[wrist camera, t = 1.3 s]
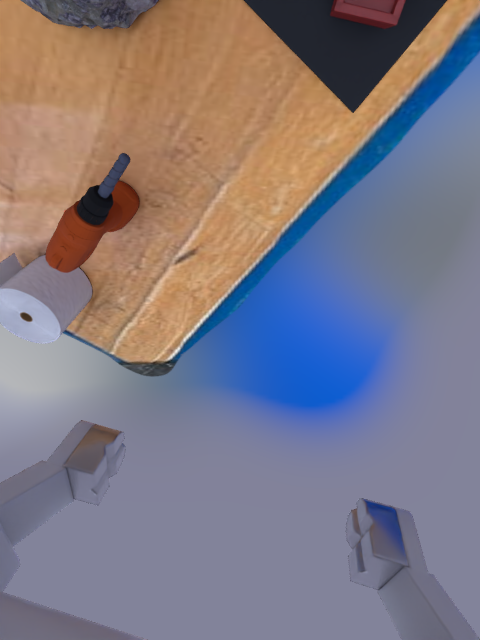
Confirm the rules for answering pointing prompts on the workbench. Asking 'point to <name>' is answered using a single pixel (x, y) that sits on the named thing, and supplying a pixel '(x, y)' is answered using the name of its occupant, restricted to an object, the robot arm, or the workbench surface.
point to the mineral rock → (91, 11)
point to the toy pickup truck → (369, 11)
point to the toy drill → (92, 219)
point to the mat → (344, 41)
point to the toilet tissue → (40, 298)
